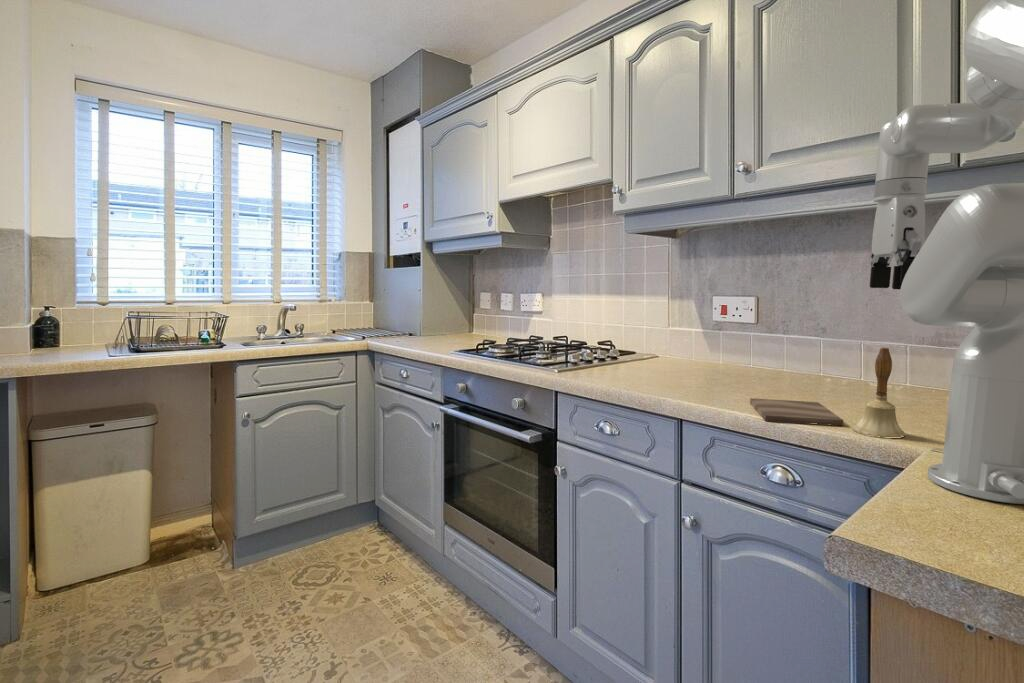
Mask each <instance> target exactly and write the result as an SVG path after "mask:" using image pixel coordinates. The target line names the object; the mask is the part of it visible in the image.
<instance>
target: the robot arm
mask: <svg viewBox="0 0 1024 683" xmlns="http://www.w3.org/2000/svg"><path fill="white" fill-rule="evenodd" d="M963 53H964V56H965V59H966V61H967V63H968V64H969V65H970V67H969V68H968V70H967V72H966V75H965V79H964V84H965V85H964V86H965V87H964V88H965V91H966V94H967V96H968V97H969V99H970V101H971V102H968V103H967V102H961V103H960V102H957V103H939V104H938V103H937V104H936V103H935V104H916V105H911V106H908V107H906V108H905V109H903V110H902V111H901V112H900V113H899V114H898V115H897V116H896V117H895V118H894V119H892V120H888V121H887V122H885V123H884V124H883V125H882V126H881V128H880V130H879V137H878V148H877V149H878V150H877V161H876V170H875V171H876V173H875V182H874V183H875V184H874V194H873V202H874V203H877V205H876V211H875V217H874V223H873V227H872V228H873V229H872V238H871V256H870V258H871V261H870V266H871V267H870V275H869V276H870V277H869V288H870V289H871V288H872V289H876V288H877V289H889V288H890V286H891V288H892V289H893V290H899V303H900V307H901V310H902V312H903V313H904V314H905V316H907V318H908V319H910V320H911V321H913V322H915V323H917V324H920V325H926V326H935V327H964V328H965V327H968V328H969V327H972V328H973V329H971V331H970V332H969V333H968V335H967V336H965V338H964V339H963V341H962V342H961V343H960V345H959V346H958V347H957V349H956V351H955V354H954V357H953V361H952V367H951V368H952V369H951V377H950V387H949V396H948V406H947V414H946V415H947V416H946V423H945V424H946V425H945V435H944V445H943V453H942V454H943V456H942V462H941V463H937V464H933V465H931V466H929V467H927V477H928V479H929V480H930V481H931V482H933V483H935V484H936V485H938V486H940V487H942V488H945V489H948V490H950V491H953V492H955V493H959V494H962V495H966V496H970V497H974V498H977V499H982V500H987V501H993V502H998V503H1006V504H1014V505H1015V504H1017V505H1024V182H1011V183H1010V182H1009V183H1008V182H1007V183H991V184H983V185H979V186H975V187H973V188H971V189H969V190H967V191H965V192H963V193H962V194H960V195H958V196H957V197H956V198H955V199H954V200H952V201H951V203H950V204H949V205H948V206H947V207H946V209H945V210H944V211H943V213H942V215H941V216H940V217H939V219H938V220H937V221H936V223H935V225H934V227H933V228H932V230H931V232H930V233H929V235H928V236H927V237H926V238H927V239H925V232H926V231H925V230H926V206H925V205H926V203H925V199H926V194H927V192H926V191H927V184H928V172H929V162H930V154H968V153H975V152H979V151H982V150H985V149H987V148H989V147H991V146H993V145H994V144H997V143H999V142H1000V141H1002V140H1004V139H1006V138H1007V137H1009V136H1010V135H1012V134H1014V133H1015V132H1016V131H1017V130H1018V129H1019V128H1020V127H1021V125H1022V124H1023V122H1024V0H989V1H988V2H986V4H985V5H984V6H982V8H981V9H980V10H979V11H978V12H977V13H976V14H975V16H974V18H973V19H972V21H971V22H970V24H969V26H968V28H967V31H966V34H965V36H964V43H963ZM893 257H894V259H895V260H894V261H895V263H896V265H893V274H891V273H892V266H890V264H891V261H892V260H893ZM891 275H892V284H891ZM890 284H891V285H890Z"/></svg>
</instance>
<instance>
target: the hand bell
mask: <svg viewBox="0 0 1024 683" xmlns="http://www.w3.org/2000/svg"><path fill="white" fill-rule="evenodd" d="M892 368H893V359H892V356H891V353H890V349H889V347H880V349H879V352H878V354H877V356H876V359H875V363H874V372H875V376H876V380H877V383H876V391H875V395H876V396H875V399H874V400H872V401H869V402H867V403H866V406H865V409H864V413H863V415H862V417H861V419H860V420H859V421H858V422H857V423H855V424H854V425H853V426H852V428H851V429H852V430H853V431H854V432H855V433H857V432H859V433H858V434H860V433H862V434H861V435H863V434H867V435H873V436H880V437H901V436H905V435H906V433H905V431H904V430H903V429H902V428H901V427H900V425H899V423H898V421H897V416H896V414H897V413H896V406H895V405H894V404H892V403H891V402H889V401H888V393H887V392H888V382H889V378H890V375H891V373H892ZM867 435H866V436H867ZM905 437H906V436H905Z"/></svg>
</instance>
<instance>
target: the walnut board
mask: <svg viewBox="0 0 1024 683" xmlns="http://www.w3.org/2000/svg"><path fill="white" fill-rule="evenodd" d="M749 404H750V406H751V407H752V408H753V409H754V410H755V411H756V413H757V414H759V416H760V417H761V418H762V420H763V421H765V422H770V423H771V422H772V423H787V424H788V423H789V424H801V423H817V424H831V425H830V426H833V425H843V426H844V419H842V418H841V417H840V416H838V415H837V414H835V413H834V412H833V411H831V410H830V409H828V408H827V407H825V406H824V405H823V404H822V403H820V402H819V401H805V400H800V401H799V400H788V399H787V400H786V399H784V400H783V399H769V398H768V399H767V398H752V397H751V398H750V399H749ZM817 424H816V425H817Z"/></svg>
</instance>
